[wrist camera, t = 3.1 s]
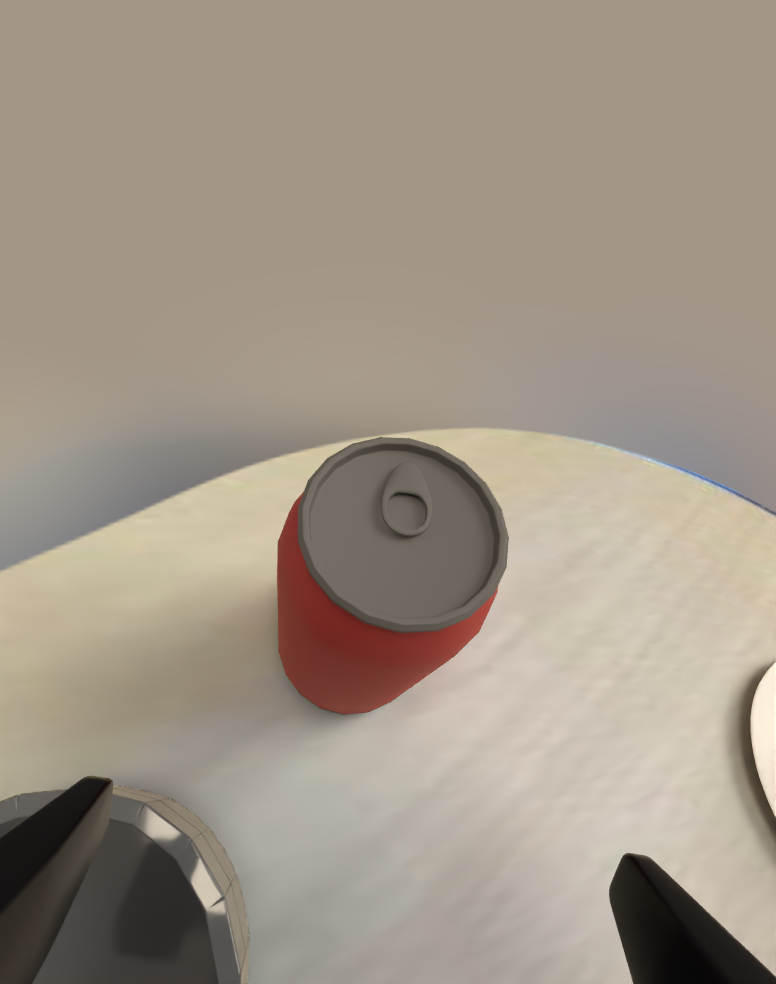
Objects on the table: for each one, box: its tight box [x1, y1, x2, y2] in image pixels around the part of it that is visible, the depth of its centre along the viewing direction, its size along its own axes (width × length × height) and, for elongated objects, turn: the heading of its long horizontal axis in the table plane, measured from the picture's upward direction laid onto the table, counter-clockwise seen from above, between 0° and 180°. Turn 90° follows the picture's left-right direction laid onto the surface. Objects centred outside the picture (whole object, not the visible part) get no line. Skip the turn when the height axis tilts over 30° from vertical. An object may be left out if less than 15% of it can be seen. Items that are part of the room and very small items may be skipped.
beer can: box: [277, 437, 509, 714], centre depth 17 cm, size 7×7×12 cm
